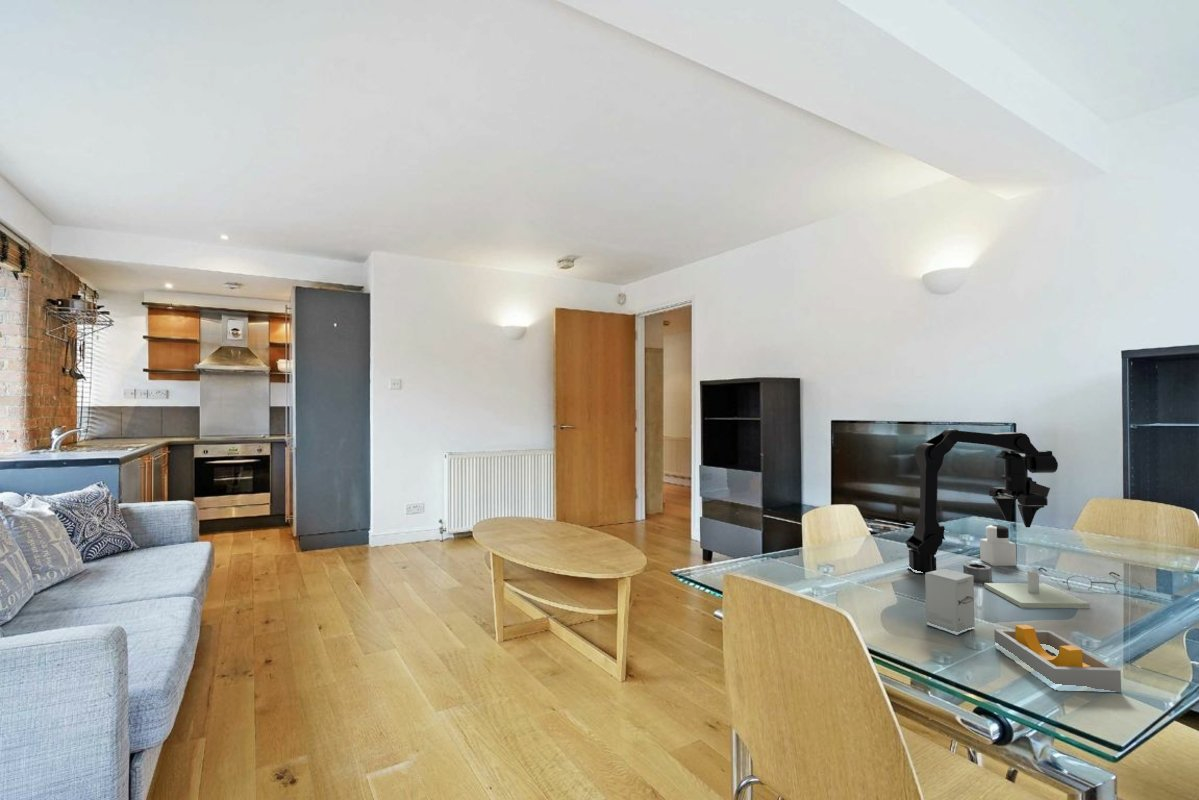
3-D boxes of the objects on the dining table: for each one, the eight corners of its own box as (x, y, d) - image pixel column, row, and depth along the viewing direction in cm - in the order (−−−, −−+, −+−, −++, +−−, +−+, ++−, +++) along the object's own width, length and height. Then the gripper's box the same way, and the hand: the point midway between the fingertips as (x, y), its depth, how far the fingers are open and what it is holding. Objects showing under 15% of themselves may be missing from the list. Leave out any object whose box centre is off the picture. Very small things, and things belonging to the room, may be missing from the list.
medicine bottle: (1003, 560, 183) (1001, 523, 184) (1017, 566, 176) (1015, 528, 176) (980, 560, 184) (978, 523, 184) (993, 566, 177) (991, 528, 177)
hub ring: (972, 582, 161) (971, 569, 161) (960, 576, 167) (959, 562, 168) (995, 583, 160) (995, 569, 160) (982, 576, 167) (982, 563, 167)
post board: (1021, 607, 141) (1020, 579, 141) (984, 587, 157) (983, 562, 157) (1089, 608, 140) (1088, 580, 140) (1045, 587, 156) (1044, 562, 156)
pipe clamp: (1091, 683, 103) (1090, 649, 103) (1070, 685, 103) (1069, 650, 103) (1035, 655, 115) (1034, 624, 115) (1016, 656, 115) (1015, 625, 115)
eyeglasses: (1064, 589, 155) (1063, 575, 155) (1037, 572, 173) (1036, 559, 173) (1146, 596, 149) (1145, 580, 149) (1109, 577, 167) (1109, 563, 167)
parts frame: (1055, 691, 101) (1054, 668, 101) (995, 648, 118) (994, 629, 119) (1121, 693, 99) (1120, 670, 100) (1050, 649, 117) (1049, 630, 117)
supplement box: (957, 636, 125) (955, 580, 125) (925, 625, 131) (923, 572, 132) (976, 630, 128) (974, 575, 128) (943, 619, 135) (942, 567, 135)
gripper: (1066, 476, 161) (1068, 530, 160) (1024, 469, 179) (1025, 518, 179) (1025, 477, 162) (1027, 530, 161) (987, 469, 180) (989, 518, 180)
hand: (1017, 524), depth 170 cm, fingers open, 9 cm apart
